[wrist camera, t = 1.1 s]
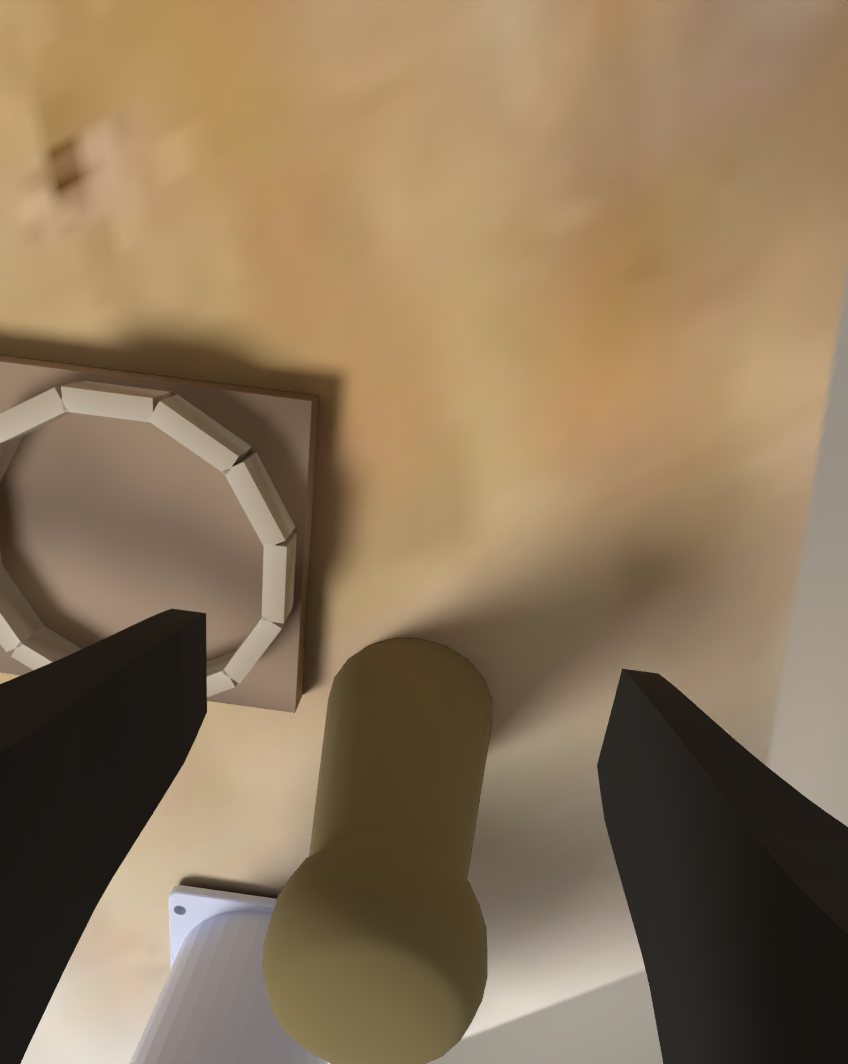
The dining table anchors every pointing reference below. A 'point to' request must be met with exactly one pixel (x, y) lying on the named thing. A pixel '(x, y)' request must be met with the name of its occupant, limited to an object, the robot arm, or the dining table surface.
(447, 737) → the cork
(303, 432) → the cup holder
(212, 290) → the dining table surface
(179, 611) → the robot arm
